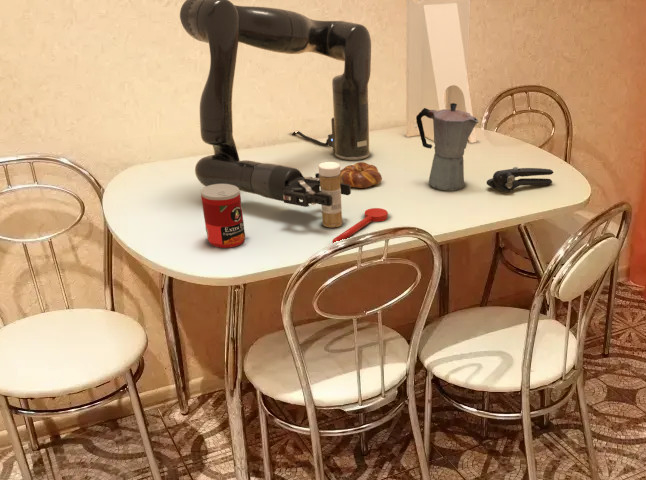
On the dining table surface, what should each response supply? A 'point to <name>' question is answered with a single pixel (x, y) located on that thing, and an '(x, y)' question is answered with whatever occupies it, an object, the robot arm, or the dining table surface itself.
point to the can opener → (507, 181)
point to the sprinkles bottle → (331, 193)
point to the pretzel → (360, 175)
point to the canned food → (223, 215)
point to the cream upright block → (436, 60)
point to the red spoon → (364, 222)
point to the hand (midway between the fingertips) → (340, 195)
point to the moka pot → (448, 145)
